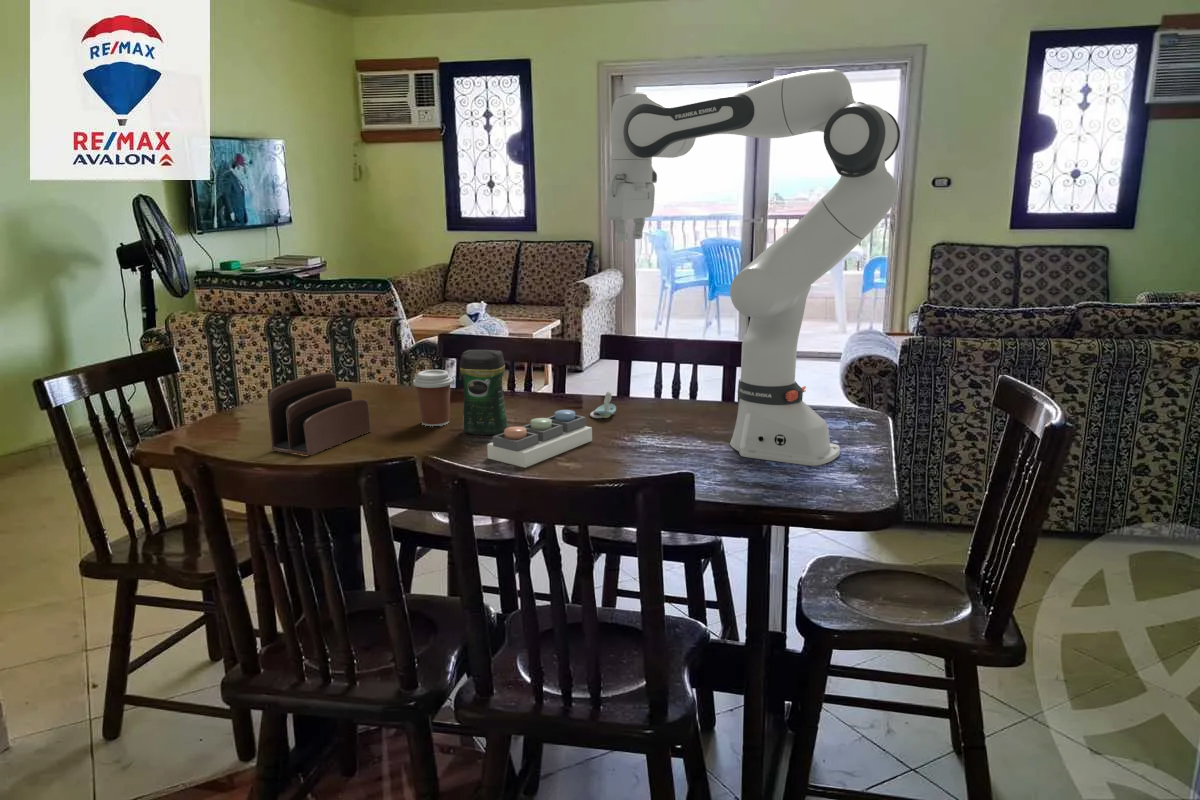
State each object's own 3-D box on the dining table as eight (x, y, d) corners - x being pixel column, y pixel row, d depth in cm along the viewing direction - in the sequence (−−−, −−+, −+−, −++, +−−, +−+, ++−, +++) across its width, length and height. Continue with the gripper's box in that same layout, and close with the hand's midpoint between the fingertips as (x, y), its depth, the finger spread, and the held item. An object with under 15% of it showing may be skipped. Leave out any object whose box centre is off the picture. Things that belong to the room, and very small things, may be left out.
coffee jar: (511, 427, 192) (508, 347, 187) (500, 437, 184) (497, 354, 180) (470, 425, 194) (467, 345, 189) (458, 434, 186) (454, 352, 182)
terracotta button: (531, 436, 169) (530, 428, 168) (516, 441, 165) (516, 433, 165) (514, 432, 171) (514, 425, 171) (499, 437, 168) (499, 430, 168)
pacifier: (587, 420, 199) (612, 420, 197) (586, 394, 197) (611, 394, 196) (593, 412, 206) (617, 412, 204) (592, 387, 204) (616, 387, 203)
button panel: (592, 440, 182) (592, 418, 180) (524, 467, 164) (523, 443, 163) (556, 432, 187) (556, 411, 186) (487, 458, 170) (486, 434, 169)
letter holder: (271, 452, 175) (264, 386, 172) (337, 427, 192) (332, 367, 189) (308, 458, 171) (302, 391, 168) (371, 432, 188) (367, 371, 185)
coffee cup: (412, 428, 191) (408, 377, 188) (419, 418, 200) (416, 368, 197) (452, 428, 191) (449, 377, 188) (457, 417, 200) (455, 368, 197)
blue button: (579, 419, 181) (579, 411, 181) (566, 423, 178) (566, 416, 178) (563, 415, 184) (563, 408, 184) (550, 420, 180) (550, 413, 180)
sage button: (556, 427, 175) (555, 420, 175) (542, 432, 172) (542, 424, 171) (539, 424, 178) (539, 416, 177) (526, 428, 174) (526, 421, 174)
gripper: (627, 173, 168) (627, 243, 172) (659, 174, 187) (658, 237, 190) (598, 173, 171) (598, 242, 174) (633, 174, 189) (632, 237, 193)
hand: (630, 240), depth 182 cm, fingers open, 8 cm apart
